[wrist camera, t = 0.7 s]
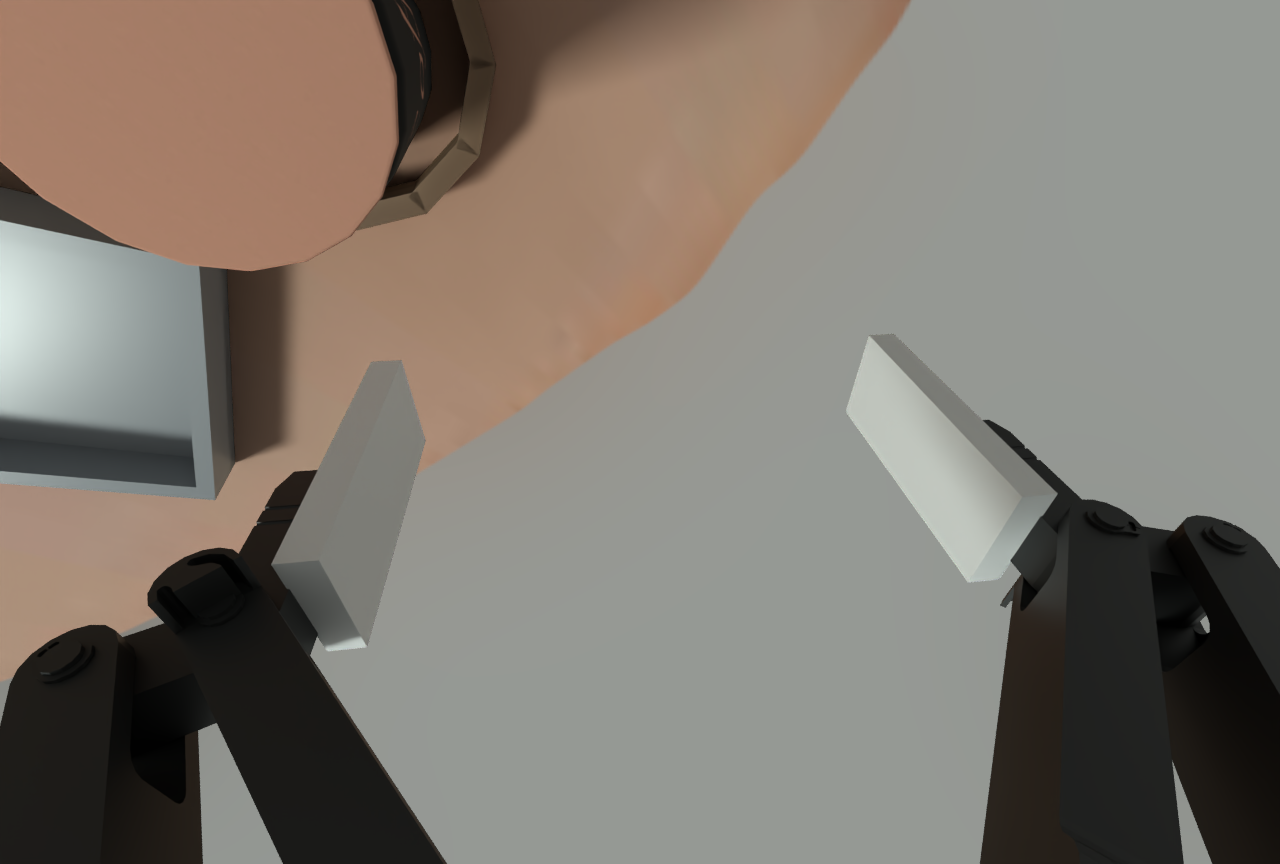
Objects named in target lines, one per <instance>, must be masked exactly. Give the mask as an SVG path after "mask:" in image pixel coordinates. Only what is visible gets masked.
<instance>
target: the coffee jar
mask: <svg viewBox="0 0 1280 864" xmlns="http://www.w3.org/2000/svg"><path fill="white" fill-rule="evenodd" d="M431 89H432V84H431V49H430V45H429V42H428V38H427V35H426V31H425V27H424V24H423V20H422V17H421V13H420V10H419V8H418V7H417V5H416V3H415V1H414V0H0V162H2V163H3V164H4V165H5V166H6V167H7V168H8V169H10V170H11V171H12V172H13V173H14V174H15V175H17V176H18V177H19V178H20V179H21V180H22V181H23V182H25V183H26V184H27V185H28V186H29V187H30V188H32V189H33V190H34V191H35V192H36V193H37V194H38V195H40V196H41V197H42V198H43V199H45V200H46V201H48V202H50V203H52V204H53V205H55V206H57V207H59V208H60V209H62V210H64V211H65V212H67V213H69V214H71V215H72V216H74V217H76V218H77V219H79V220H81V221H83V222H84V223H86V224H88V225H90V226H91V227H93V228H95V229H96V230H98V231H100V232H102V233H103V234H105V235H107V236H109V237H110V238H112V239H114V240H115V241H118V242H121V243H124V244H127V245H129V246H132V247H135V248H138V249H141V250H144V251H147V252H150V253H153V254H156V255H159V256H162V257H165V258H168V259H171V260H174V261H177V262H180V263H183V264H185V265H193V266H203V267H213V268H223V269H233V270H243V271H256V270H261V269H267V268H272V267H278V266H283V265H289V264H295V263H300V262H306V261H308V260H310V259H312V258H314V257H315V256H317V255H319V254H321V253H322V252H324V251H326V250H328V249H330V248H331V247H333V246H335V245H337V244H338V243H340V242H342V241H344V240H345V239H347V238H349V237H351V236H352V235H353V233H354V232H355V231H356V230H357V228H358V227H359V226H360V225H361V223H362V222H363V221H364V220H365V218H366V217H367V216H368V214H369V213H370V212H371V211H372V209H373V208H374V207H375V206H376V204H377V203H378V202H379V201H380V199H381V198H382V197H383V194H384V191H385V187H386V186H387V185H388V183H389V182H390V181H391V180H392V178H393V177H394V175H395V173H396V171H397V169H398V167H399V165H400V163H401V161H402V159H403V157H404V155H405V153H406V151H407V149H408V147H409V145H410V143H411V141H412V139H413V137H414V135H415V133H416V131H417V129H418V127H419V125H420V123H421V121H422V118H423V115H424V112H425V108H426V105H427V102H428V99H429V96H430V92H431Z"/></svg>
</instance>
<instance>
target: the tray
mask: <svg viewBox="0 0 1280 864" xmlns="http://www.w3.org/2000/svg"><path fill="white" fill-rule="evenodd" d="M234 464H235V451H234V428H233V404H232V380H231V357H230V333H229V310H228V286H227V269H223V268H213V267H203V266H193V265H185V264H183V263H180V262H177V261H174V260H171V259H168V258H165V257H162V256H159V255H156V254H153V253H150V252H147V251H144V250H141V249H138V248H135V247H132V246H129V245H127V244H124V243H121V242H118V241H115V240H114V239H112V238H110V237H109V236H107V235H105V234H103V233H102V232H100V231H98V230H96V229H95V228H93V227H91V226H90V225H88V224H86V223H84V222H83V221H81V220H79V219H77V218H76V217H74V216H72V215H71V214H69V213H67V212H65V211H64V210H62V209H60V208H59V207H57V206H55V205H53V204H52V203H50V202H48V201H46V200H45V199H43V198H42V197H41V196H37V195H33V194H28V193H24V192H20V191H16V190H11V189H7V188H3V187H0V483H3V484H16V485H29V486H41V487H54V488H67V489H80V490H93V491H106V492H119V493H131V494H144V495H157V496H170V497H183V498H196V499H208V500H216V498H217V496H218V494H219V492H220V490H221V488H222V486H223V485H224V483H225V481H226V479H227V477H228V475H229V473H230V472H231V470H232V468H233V466H234Z"/></svg>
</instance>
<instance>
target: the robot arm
mask: <svg viewBox="0 0 1280 864" xmlns="http://www.w3.org/2000/svg"><path fill="white" fill-rule="evenodd" d="M846 413H847V414H848V415H849V417H850V418H851V420H852V421H853V422H854V424H855V425H856V427H857V428H858V429H859V431H860V432H861V433H862V435H863V436H864V438H865V439H866V440H867V442H868V443H869V445H870V446H871V448H872V449H873V450H874V452H875V453H876V454H877V456H878V457H879V459H880V460H881V462H882V463H883V464H884V466H885V467H886V469H887V470H888V471H889V473H890V474H891V475H892V477H893V478H894V479H895V481H896V482H897V484H898V485H899V487H900V488H901V489H902V491H903V492H904V494H905V495H906V496H907V498H908V499H909V501H910V502H911V503H912V505H913V506H914V508H915V509H916V510H917V512H918V513H919V514H920V516H921V517H922V519H923V520H924V522H925V523H926V524H927V526H928V527H929V529H930V530H931V531H932V533H933V534H934V536H935V537H936V538H937V540H938V541H939V543H940V544H941V545H942V547H943V548H944V549H945V551H946V552H947V554H948V555H949V556H950V558H951V559H952V561H953V562H954V563H955V565H956V566H957V568H958V569H959V570H960V572H961V573H962V575H963V576H964V577H965V579H966V580H967V582H978V581H988V580H997V579H1000V577H1001V576H1002V574H1003V573H1004V571H1005V570H1006V569H1007V567H1008V566H1009V564H1010V563H1011V562H1012V563H1013V564H1014V566H1015V567H1016V568H1017V569H1018V570H1019V572H1020V573H1021V575H1020V577H1019V578H1018V579H1017V581H1016V582H1015V584H1014V585H1013V586H1012V588H1011V589H1010V591H1009V592H1008V593H1007V595H1006V596H1005V598H1004V599H1003V601H1002V603H1001V606H1003V607H1006V606H1007V605H1008V604H1009V602H1010V601H1013V603H1012V611H1011V618H1010V627H1009V634H1008V643H1007V650H1006V659H1005V667H1004V674H1003V683H1002V690H1001V698H1000V707H999V715H998V723H997V731H996V739H995V747H994V755H993V763H992V771H991V779H990V787H989V795H988V804H987V811H986V819H985V827H984V835H983V843H982V851H981V860H980V864H1184V862H1183V853H1182V844H1181V835H1180V826H1179V818H1178V810H1177V800H1176V791H1175V783H1174V774H1173V766H1172V761H1173V763H1174V766H1175V768H1176V771H1177V774H1178V776H1179V779H1180V781H1181V784H1182V787H1183V789H1184V792H1185V794H1186V797H1187V800H1188V802H1189V804H1190V807H1191V810H1192V812H1193V815H1194V818H1195V820H1196V822H1197V825H1198V828H1199V831H1200V833H1201V836H1202V838H1203V841H1204V844H1205V846H1206V849H1207V851H1208V854H1209V856H1210V859H1211V862H1212V864H1280V568H1279V567H1278V566H1277V564H1276V563H1275V561H1274V560H1273V559H1272V557H1271V556H1270V554H1269V553H1268V552H1267V550H1266V549H1265V548H1264V547H1263V546H1262V545H1261V544H1260V542H1258V541H1257V540H1256V538H1254V537H1252V536H1251V535H1250V534H1248V533H1246V532H1245V531H1244V530H1243V529H1241V528H1239V527H1237V526H1236V525H1233V524H1231V523H1229V522H1226V521H1222V520H1219V519H1216V518H1212V517H1207V516H1198V515H1196V516H1191V517H1187V518H1186V519H1185V520H1184V521H1183V522H1182V524H1181V525H1180V526H1179V527H1178V528H1177V529H1176V530H1175V531H1169V530H1163V529H1156V528H1149V527H1143V526H1141V525H1140V524H1139V523H1138V522H1137V521H1136V520H1135V519H1134V518H1133V517H1132V516H1130V515H1129V514H1127V513H1126V512H1124V511H1123V510H1121V509H1119V508H1117V507H1114V506H1112V505H1110V504H1107V503H1104V502H1100V501H1096V500H1082V499H1081V498H1080V497H1079V496H1078V495H1077V494H1076V493H1074V492H1073V491H1072V490H1071V489H1070V488H1069V487H1068V486H1067V485H1066V484H1065V483H1064V482H1063V481H1062V480H1061V479H1060V478H1058V477H1057V476H1056V475H1055V474H1054V473H1053V472H1052V471H1051V470H1050V469H1049V468H1048V467H1047V466H1046V465H1045V464H1044V463H1042V462H1041V461H1040V460H1037V457H1036V456H1035V455H1034V454H1033V453H1032V452H1031V451H1030V450H1029V449H1025V446H1024V445H1023V444H1022V443H1021V442H1020V441H1019V440H1018V439H1017V438H1016V437H1015V436H1014V435H1013V434H1012V433H1011V432H1009V431H1008V430H1006V429H1004V428H1003V427H1001V426H999V425H997V424H995V423H994V422H992V421H990V420H981V418H980V417H978V416H977V415H976V414H975V413H974V412H973V411H972V410H971V409H970V408H969V407H968V406H967V405H966V404H965V403H964V402H963V401H962V400H961V399H960V398H959V397H958V396H957V395H956V394H955V393H954V392H953V391H952V390H951V389H950V388H949V387H948V386H947V385H945V383H943V381H942V380H941V379H939V378H938V377H937V376H936V375H935V374H934V373H933V372H932V371H931V370H930V369H929V368H928V367H927V366H926V365H925V364H924V363H923V362H922V361H921V360H920V359H919V358H918V357H917V356H916V355H915V354H914V353H913V352H912V351H911V350H910V349H909V348H908V347H907V346H906V345H905V344H904V343H902V341H900V340H899V339H898V338H897V337H896V336H895V335H894V334H886V335H869V338H868V341H867V344H866V347H865V351H864V354H863V357H862V361H861V364H860V367H859V370H858V373H857V377H856V380H855V383H854V387H853V390H852V393H851V396H850V400H849V403H848V406H847V410H846ZM425 441H426V440H425V437H424V434H423V430H422V427H421V424H420V420H419V417H418V414H417V410H416V407H415V404H414V400H413V397H412V394H411V390H410V387H409V384H408V380H407V377H406V374H405V370H404V367H403V364H402V360H397V361H378V362H371V364H370V366H369V368H368V370H367V372H366V374H365V376H364V378H363V380H362V382H361V384H360V386H359V388H358V390H357V392H356V394H355V396H354V398H353V400H352V402H351V404H350V406H349V408H348V410H347V412H346V414H345V416H344V418H343V420H342V422H341V424H340V426H339V428H338V430H337V432H336V434H335V436H334V438H333V440H332V442H331V444H330V446H329V448H328V450H327V453H326V455H325V457H324V459H323V461H322V463H321V465H320V467H319V469H318V470H312V471H299V472H293V473H292V474H291V475H290V476H289V477H288V478H287V479H286V480H285V481H283V482H282V483H281V484H280V485H279V486H278V487H277V488H276V489H275V490H274V492H273V494H272V496H271V497H270V499H269V501H268V503H267V504H266V506H265V511H263V512H262V513H261V515H260V517H259V519H258V520H257V526H254V528H253V529H252V531H251V533H250V535H249V536H248V538H247V540H246V542H245V544H244V545H243V547H242V549H241V551H240V552H239V554H238V553H237V552H235V551H234V550H233V549H226V548H214V549H207V550H202V551H199V552H197V553H194V554H192V555H189V556H187V557H184V558H183V559H181V560H179V561H178V562H176V563H175V564H173V565H171V566H170V567H168V568H167V569H166V570H165V571H164V572H163V573H162V574H161V575H160V576H159V577H158V578H157V579H156V580H155V581H154V583H153V585H152V586H151V588H150V590H149V592H148V594H147V595H148V606H149V607H150V608H151V609H152V610H153V611H154V612H155V613H156V614H157V616H158V617H159V618H160V619H161V620H162V621H163V622H164V624H161V625H158V626H155V627H152V628H149V629H146V630H143V631H140V632H137V633H134V634H131V635H128V636H125V637H122V636H121V635H119V634H118V633H117V632H116V631H115V630H113V629H112V628H110V627H108V626H106V625H88V626H85V627H81V628H77V629H74V630H70V631H68V632H66V633H64V634H62V635H60V636H58V637H56V638H54V639H52V640H50V641H49V642H47V643H46V644H45V645H43V646H42V647H41V648H39V649H38V650H36V651H35V652H34V653H32V654H31V655H30V656H29V657H28V658H27V660H26V661H25V662H24V663H23V664H22V665H21V666H20V667H19V668H18V669H17V671H16V673H15V675H14V677H13V679H12V681H11V683H10V686H9V691H8V695H7V699H6V703H5V708H4V712H3V716H2V721H1V725H0V864H203V858H202V856H203V855H202V830H201V829H202V827H201V803H200V802H201V801H200V772H199V745H198V730H200V729H202V728H205V727H207V726H210V725H212V724H215V723H217V724H218V726H219V728H220V731H221V733H222V735H223V737H224V739H225V741H226V743H227V746H228V748H229V750H230V752H231V754H232V756H233V758H234V760H235V762H236V765H237V767H238V769H239V771H240V773H241V775H242V777H243V780H244V782H245V784H246V786H247V788H248V790H249V792H250V794H251V797H252V799H253V801H254V803H255V805H256V807H257V809H258V811H259V814H260V816H261V818H262V820H263V822H264V824H265V826H266V828H267V831H268V833H269V835H270V837H271V839H272V841H273V843H274V845H275V847H276V850H277V852H278V854H279V856H280V858H281V860H282V862H283V864H447V863H446V862H445V860H444V858H443V857H442V855H441V854H440V852H439V851H438V849H437V848H436V846H435V845H434V843H433V842H432V840H431V839H430V837H429V836H428V834H427V833H426V831H425V829H424V828H423V826H422V825H421V823H420V822H419V820H418V819H417V817H416V816H415V814H414V813H413V811H412V810H411V808H410V807H409V805H408V804H407V802H406V801H405V799H404V798H403V796H402V795H401V793H400V792H399V790H398V788H397V787H396V786H395V784H394V783H393V781H392V779H391V778H390V776H389V775H388V773H387V772H386V770H385V769H384V767H383V766H382V764H381V763H380V761H379V760H378V758H377V757H376V755H375V754H374V752H373V750H372V749H371V747H370V746H369V744H368V743H367V741H366V740H365V738H364V737H363V735H362V734H361V732H360V731H359V729H358V728H357V726H356V725H355V723H354V722H353V720H352V719H351V717H350V716H349V714H348V712H347V711H346V709H345V708H344V706H343V705H342V703H341V702H340V700H339V699H338V698H337V696H336V694H335V693H334V691H333V690H332V688H331V687H330V685H329V684H328V682H327V680H326V679H325V677H324V676H323V674H322V673H321V671H320V670H319V668H318V667H317V665H316V664H315V662H314V661H313V659H312V658H311V656H310V654H311V651H312V649H313V646H314V643H315V640H316V638H317V636H318V638H319V640H320V641H321V643H322V644H323V646H324V647H325V649H326V650H327V651H336V650H345V649H354V648H364V647H367V646H368V642H369V638H370V635H371V631H372V628H373V624H374V621H375V617H376V614H377V610H378V607H379V603H380V599H381V596H382V593H383V589H384V585H385V582H386V579H387V575H388V571H389V568H390V564H391V561H392V557H393V554H394V550H395V546H396V543H397V540H398V536H399V533H400V529H401V526H402V522H403V519H404V515H405V511H406V508H407V504H408V501H409V497H410V494H411V490H412V486H413V483H414V480H415V476H416V473H417V469H418V466H419V462H420V459H421V455H422V451H423V448H424V444H425ZM1206 615H1207V617H1208V620H1209V623H1210V632H1209V633H1206V631H1205V630H1204V628H1203V626H1202V624H1201V622H1200V621H1201V620H1202V619H1203V618H1204V617H1205V616H1206Z"/></svg>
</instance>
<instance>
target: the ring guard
mask: <svg viewBox="0 0 1280 864" xmlns="http://www.w3.org/2000/svg"><path fill="white" fill-rule="evenodd" d="M452 3H453V6H454V10H455V13H456V16H457V20H458V23H459V26H460V30H461V33H462V36H463V40H464V43H465V46H466V50H467V53H468V56H469V60H470V65H469V72H468V78H467V84H466V90H465V96H464V103H463V109H462V115H461V121H460V128H459V133H458V134H457V136H456V137H455V138H454V139H453V140H452V141H451V142H450V143H449V144H448V146H447V147H446V148H445V149H444V150H443V151H442V152H441V153H440V155H439V156H438V157H437V158H436V159H435V160H434V161H433V162H432V164H431V165H430V166H429V167H428V168H427V169H426V170H425V171H424V172H423V174H422V175H421V176H420V177H419V178H418V179H417V180H416V181H412V182H408V183H403V184H399V185H395V186H391V187H386V188H385V191H384V194H383V197H382V198H381V199H380V201H379V202H378V203H377V204H376V206H375V207H374V208H373V209H372V211H371V212H370V213H369V214H368V216H367V217H366V218H365V220H364V221H363V222H362V223H361V225H360V226H359V227H358V228H357V230H360V229H365V228H369V227H373V226H377V225H381V224H385V223H389V222H394V221H398V220H402V219H406V218H410V217H414V216H418V215H423V214H427V213H428V212H429V210H430V209H431V208H432V207H433V206H434V205H435V204H436V203H437V202H438V201H439V200H440V198H441V197H442V196H443V195H444V194H445V193H446V192H447V191H448V190H449V189H450V188H451V186H452V185H453V184H454V183H455V182H456V181H457V180H458V179H459V178H460V177H461V176H462V174H463V173H464V172H465V171H466V170H467V169H468V168H469V167H470V166H471V165H472V164H473V162H474V161H475V160H476V159H477V158H478V157H479V155H480V150H481V144H482V139H483V133H484V128H485V122H486V117H487V111H488V106H489V100H490V95H491V89H492V84H493V78H494V73H495V67H496V63H495V60H494V56H493V53H492V49H491V45H490V42H489V38H488V34H487V31H486V27H485V24H484V20H483V16H482V13H481V9H480V5H479V2H478V0H452Z"/></svg>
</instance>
